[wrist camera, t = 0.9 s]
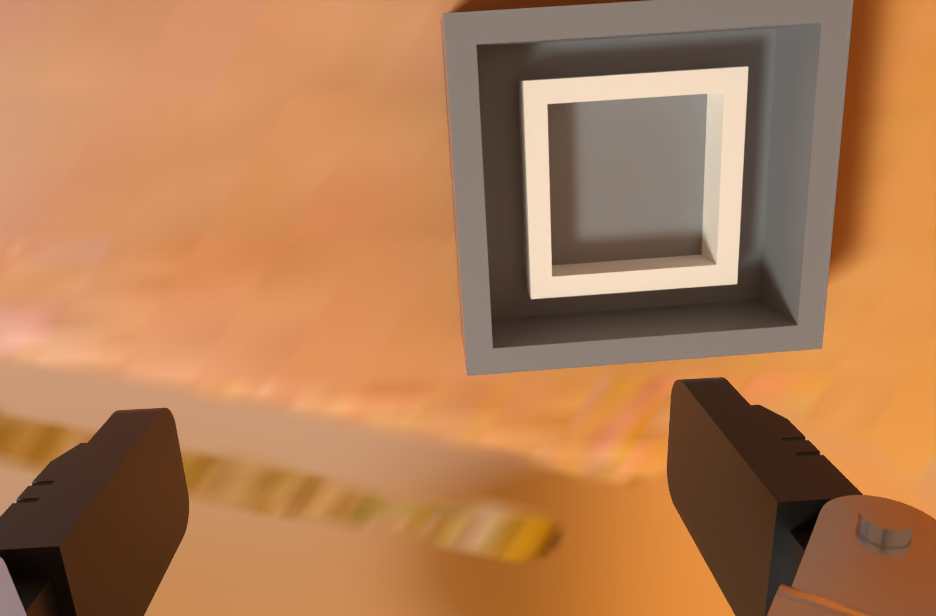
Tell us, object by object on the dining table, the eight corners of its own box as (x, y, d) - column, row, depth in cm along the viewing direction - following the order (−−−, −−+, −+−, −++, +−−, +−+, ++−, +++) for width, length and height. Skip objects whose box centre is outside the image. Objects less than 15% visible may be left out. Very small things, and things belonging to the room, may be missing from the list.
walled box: (441, 21, 33) (443, 13, 28) (794, -1, 34) (854, -13, 29) (462, 337, 38) (467, 375, 33) (772, 314, 38) (822, 348, 33)
